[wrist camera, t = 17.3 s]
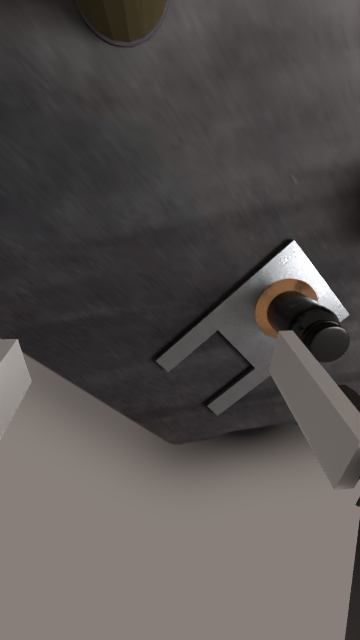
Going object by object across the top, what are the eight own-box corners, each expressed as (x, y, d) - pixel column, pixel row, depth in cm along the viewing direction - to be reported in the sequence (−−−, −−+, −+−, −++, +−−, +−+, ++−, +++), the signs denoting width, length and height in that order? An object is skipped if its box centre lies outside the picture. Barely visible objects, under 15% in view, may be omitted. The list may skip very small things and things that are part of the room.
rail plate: (216, 411, 51) (217, 416, 50) (155, 358, 47) (155, 361, 45) (345, 312, 46) (350, 315, 44) (291, 239, 41) (294, 240, 40)
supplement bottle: (302, 331, 45) (348, 371, 34) (261, 329, 44) (295, 369, 33) (313, 291, 43) (367, 319, 31) (270, 288, 42) (309, 316, 31)
